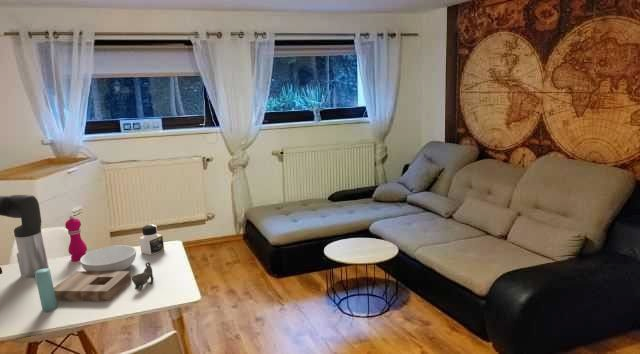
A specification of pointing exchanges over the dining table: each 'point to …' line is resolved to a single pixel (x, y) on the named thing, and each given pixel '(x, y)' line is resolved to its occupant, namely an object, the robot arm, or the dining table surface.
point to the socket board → (92, 286)
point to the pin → (46, 289)
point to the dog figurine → (143, 277)
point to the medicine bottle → (151, 240)
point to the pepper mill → (75, 239)
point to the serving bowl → (109, 258)
